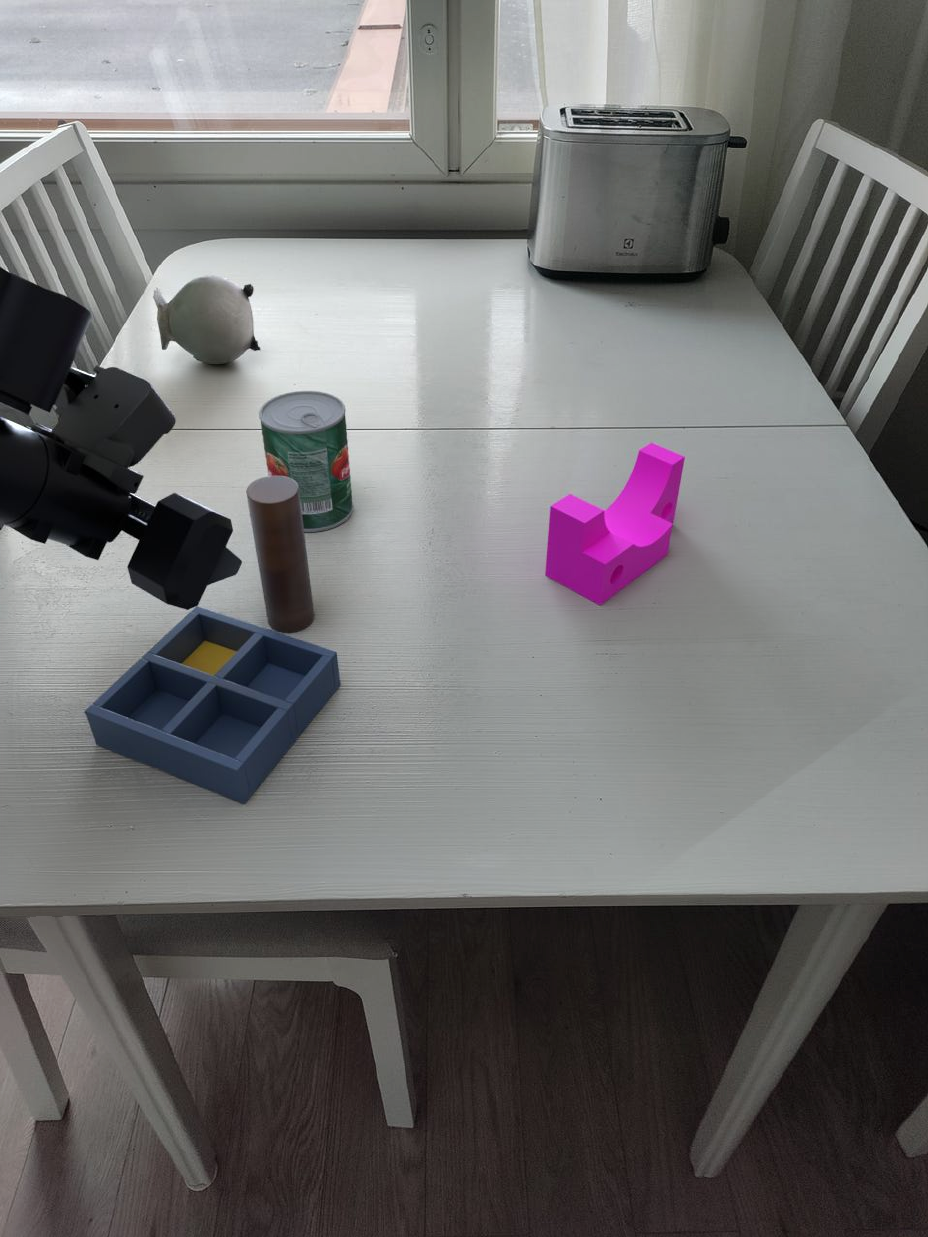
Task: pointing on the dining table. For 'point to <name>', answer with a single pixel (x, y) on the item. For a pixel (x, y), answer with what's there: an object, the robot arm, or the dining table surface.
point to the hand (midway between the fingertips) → (194, 543)
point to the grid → (216, 702)
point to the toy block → (616, 529)
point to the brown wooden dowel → (281, 552)
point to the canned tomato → (310, 453)
